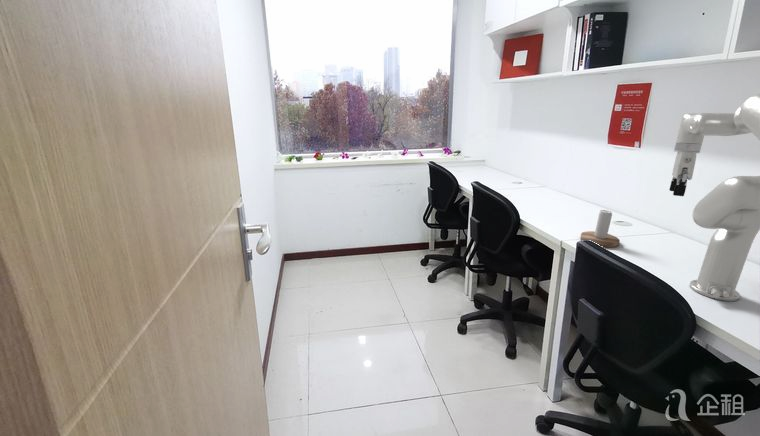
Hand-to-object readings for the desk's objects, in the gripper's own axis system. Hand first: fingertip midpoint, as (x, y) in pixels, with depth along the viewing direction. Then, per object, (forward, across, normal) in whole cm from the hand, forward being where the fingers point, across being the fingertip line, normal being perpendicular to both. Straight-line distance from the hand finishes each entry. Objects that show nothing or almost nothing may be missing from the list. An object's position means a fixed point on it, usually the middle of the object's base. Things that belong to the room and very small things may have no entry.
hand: (676, 193), depth 142 cm
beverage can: (+24, +6, +22) cm, 33 cm away
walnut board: (+26, +7, +22) cm, 34 cm away
